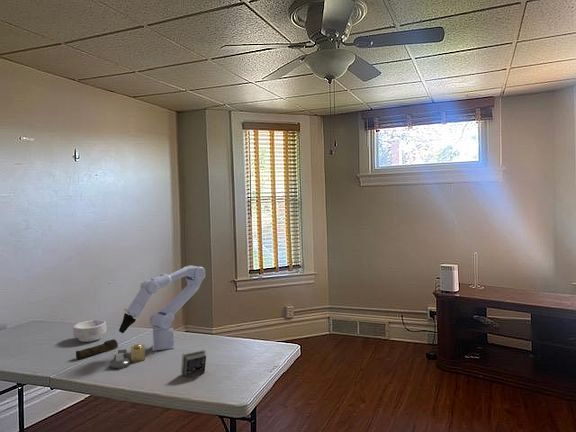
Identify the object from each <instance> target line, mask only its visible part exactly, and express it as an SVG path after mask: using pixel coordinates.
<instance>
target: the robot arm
mask: <svg viewBox="0 0 576 432" xmlns="http://www.w3.org/2000/svg"><path fill="white" fill-rule="evenodd" d="M181 278H185V279H186V284H187V285H186V286H185V287H184V288H183V289H182V290H181V291H180V292H179V293H178V294H177V295H176V296H174V298H173V299H172V300H171V301H170V302H169V303H168V304H167V305H166V306H165V307H163V308H162V309H159V310H158V311H157V312H155V313H153V314H152V315H151V316H150V318H149V323H150V325H151V326H152V343H153V344H152V351H153V352H155V351H161V350H170V349H175V337H174V327H171V325H172V323H173V321H174V320H175V315H176V314H177V312H179V311H180V309H181V308H182V307H183V306H184V305H185V304H187V302H188V301H189V300H190V299H191V298H192V297H193V296H194V295H195V293H197V292H198V291H199V289H200V287H201V285H202V282H203V280H204V279H205V278H206V270H205V268H204V267H203V266H196V265H192V264H191V265H190V264H189V265H187V266H186V265H185V266H183V268H180V269H179V270H176V271H173V272H172V273H170V274H167V273H160V274H159V275H158V276H156V277H151V279H145V280H143V282H141V283H140V286H139V287H140V288H139V290H138V293H137V294H136V296H135V297H134V299H133V300H132V301H131V303H130V305H129V306H128V308H124V309H123V310H124V311H125V312H124V314H123V318H122V322H121V324H120V327H119V329H118V332H119V333H121V334H124V333H126V331H127V330H128V329H129V328H130V326H132V325H133V324H134V323H136V320H137V319H138V318H139V317H140V315H141V313H142V311H143V309H145V307H146V305H147V304H148V302H149V300H150V298H151V297H152V295H153V294H156V293H157V292H158V291H159V290H161V289H164V288H165V287H168V286H170V285H171V283H172V282H174V281H177V280H179V279H181ZM136 318H137V319H136Z"/></svg>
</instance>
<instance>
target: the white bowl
mask: <svg viewBox="0 0 576 432" xmlns="http://www.w3.org/2000/svg"><path fill="white" fill-rule="evenodd" d="M72 329H73V330H72V331H73V337H75V338H77V339H78V340H79V342H82V343H89V342H90V343H91V342H93V341H94V342H95V341H98V340H100V339H101V338H102V337H103V334H104V333H106V332H107V321H105V320H102V319H93V320H92V319H91V320H86V321H82V322H78V323H76V324H73V326H72Z"/></svg>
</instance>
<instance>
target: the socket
mask: <svg viewBox="0 0 576 432" xmlns="http://www.w3.org/2000/svg"><path fill="white" fill-rule="evenodd" d="M145 360H146V345H145V344H141V343H136V344H134V345H133V346H130V363H133V362H141V361H143V362H144V361H145Z"/></svg>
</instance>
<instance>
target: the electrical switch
mask: <svg viewBox="0 0 576 432" xmlns="http://www.w3.org/2000/svg"><path fill="white" fill-rule="evenodd" d="M206 361H207V355H206V350H205V349H204V348H203V349H198V350H193V351H189V352H184V353H183V354H182V355H181V368H180V369H181V370H180V373H181V375H182V376H183V375H184V376H185V377H186V378H187V377H189V378H190V377H193V376H197V375H201V374H204V373H205V371H206Z"/></svg>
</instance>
